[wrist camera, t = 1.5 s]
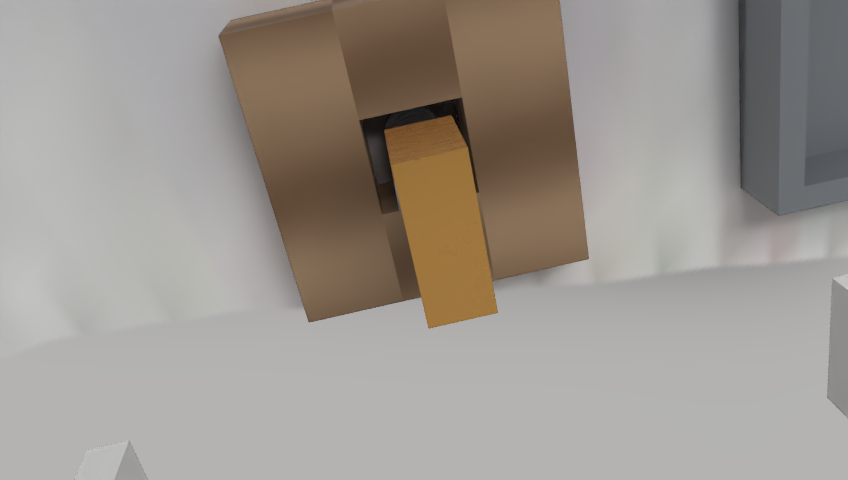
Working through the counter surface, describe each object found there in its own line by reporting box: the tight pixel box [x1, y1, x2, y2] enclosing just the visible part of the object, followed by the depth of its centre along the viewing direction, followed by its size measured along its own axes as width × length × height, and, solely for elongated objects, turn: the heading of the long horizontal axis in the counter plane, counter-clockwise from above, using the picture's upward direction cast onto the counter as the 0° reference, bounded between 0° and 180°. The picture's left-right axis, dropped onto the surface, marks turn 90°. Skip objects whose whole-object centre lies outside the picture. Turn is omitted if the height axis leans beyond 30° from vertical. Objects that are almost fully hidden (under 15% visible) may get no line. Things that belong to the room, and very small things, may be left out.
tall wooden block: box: [384, 106, 498, 328], centre depth 25 cm, size 5×2×10 cm, turn 11°
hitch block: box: [219, 0, 589, 322], centre depth 28 cm, size 11×11×3 cm
